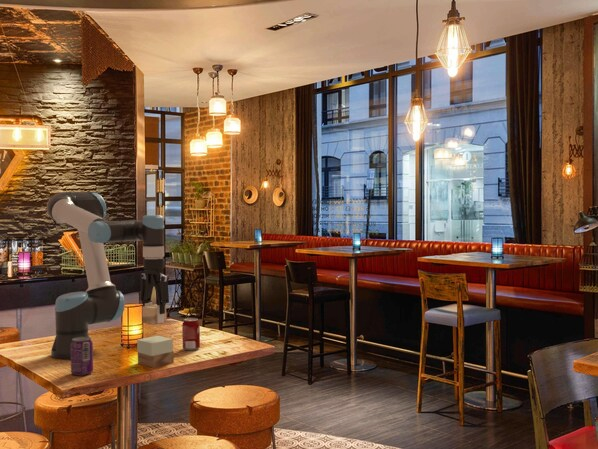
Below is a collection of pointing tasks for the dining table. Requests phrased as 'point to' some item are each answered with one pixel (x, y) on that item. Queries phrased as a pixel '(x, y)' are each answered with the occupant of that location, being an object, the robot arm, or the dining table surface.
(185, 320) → the soda can
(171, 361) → the tower base block
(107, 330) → the dining table surface
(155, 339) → the tower top block
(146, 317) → the oak cube
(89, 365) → the beverage can
